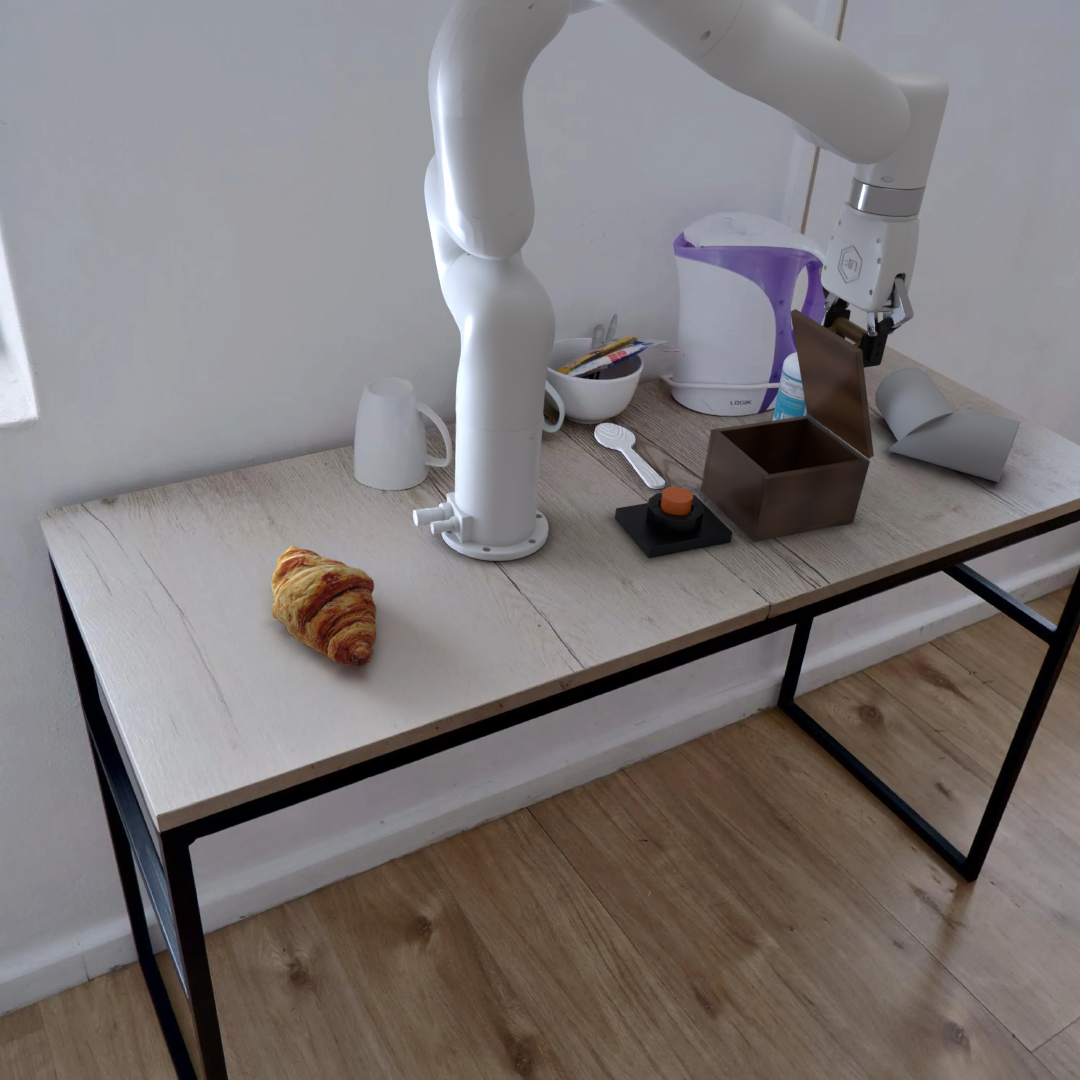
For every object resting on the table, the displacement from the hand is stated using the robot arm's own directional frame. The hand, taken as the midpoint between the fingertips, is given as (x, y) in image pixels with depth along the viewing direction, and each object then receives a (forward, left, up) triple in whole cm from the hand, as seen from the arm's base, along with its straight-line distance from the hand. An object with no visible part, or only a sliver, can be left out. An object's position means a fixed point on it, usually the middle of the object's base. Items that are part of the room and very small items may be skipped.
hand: (849, 352), depth 118 cm
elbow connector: (+25, +7, -20) cm, 33 cm away
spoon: (-18, +17, -20) cm, 32 cm away
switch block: (-21, -1, -20) cm, 29 cm away
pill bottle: (+9, +17, -20) cm, 28 cm away
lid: (-2, 0, -4) cm, 4 cm away
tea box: (-6, 0, -20) cm, 21 cm away
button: (-21, -1, -17) cm, 27 cm away
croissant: (-64, -5, -20) cm, 67 cm away
